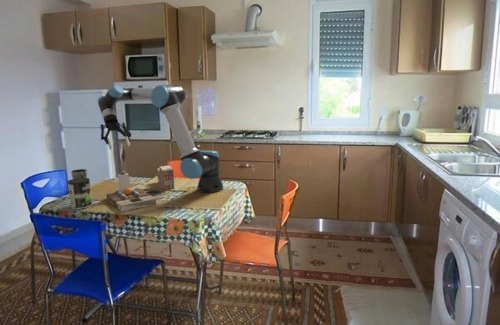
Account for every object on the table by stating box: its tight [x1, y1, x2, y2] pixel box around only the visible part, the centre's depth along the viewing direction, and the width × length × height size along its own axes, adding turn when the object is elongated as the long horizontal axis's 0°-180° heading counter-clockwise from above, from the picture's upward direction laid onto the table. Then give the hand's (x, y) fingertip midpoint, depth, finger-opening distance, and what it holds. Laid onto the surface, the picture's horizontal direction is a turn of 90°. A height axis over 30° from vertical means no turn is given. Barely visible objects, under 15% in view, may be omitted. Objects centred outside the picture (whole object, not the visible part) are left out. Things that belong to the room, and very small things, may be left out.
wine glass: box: [70, 168, 88, 179], centre depth 210 cm, size 8×8×15 cm
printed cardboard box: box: [156, 165, 175, 191], centre depth 229 cm, size 21×6×12 cm, turn 24°
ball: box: [124, 187, 132, 195], centre depth 200 cm, size 4×4×4 cm
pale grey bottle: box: [117, 170, 131, 193], centre depth 204 cm, size 3×5×12 cm, turn 125°
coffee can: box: [67, 177, 93, 210], centre depth 191 cm, size 10×10×14 cm
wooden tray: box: [106, 187, 157, 212], centre depth 197 cm, size 28×18×4 cm, turn 35°
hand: (120, 147), depth 211 cm, fingers open, 10 cm apart
